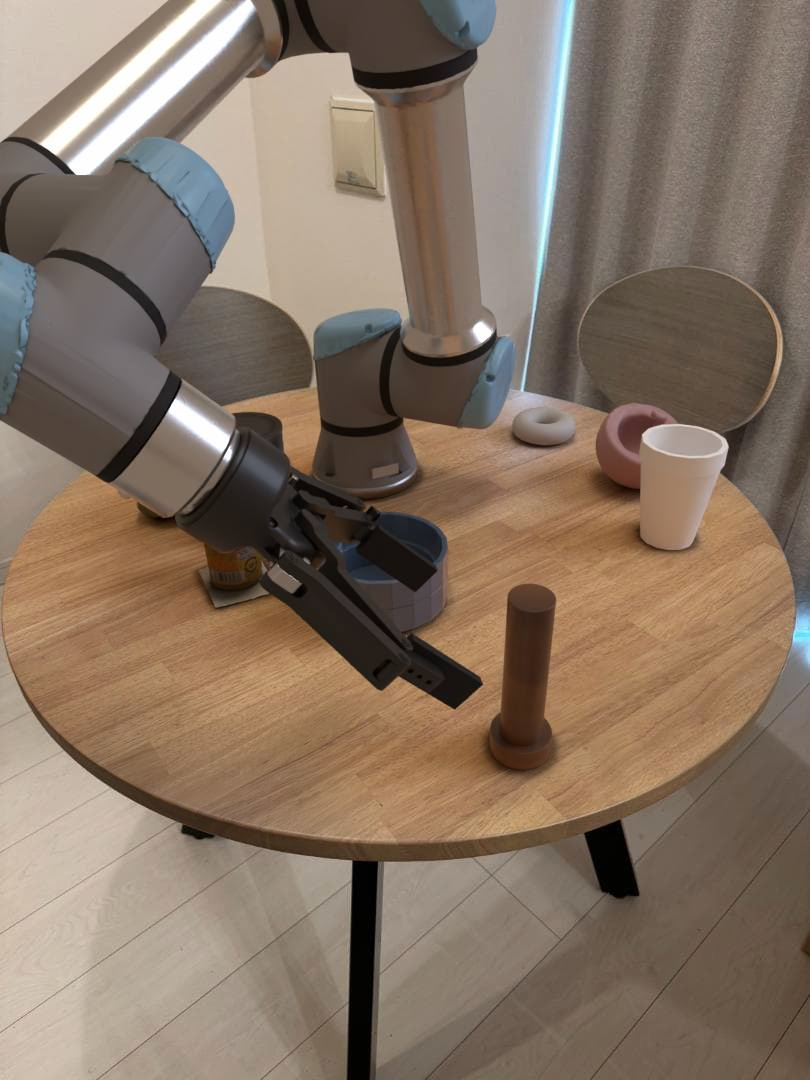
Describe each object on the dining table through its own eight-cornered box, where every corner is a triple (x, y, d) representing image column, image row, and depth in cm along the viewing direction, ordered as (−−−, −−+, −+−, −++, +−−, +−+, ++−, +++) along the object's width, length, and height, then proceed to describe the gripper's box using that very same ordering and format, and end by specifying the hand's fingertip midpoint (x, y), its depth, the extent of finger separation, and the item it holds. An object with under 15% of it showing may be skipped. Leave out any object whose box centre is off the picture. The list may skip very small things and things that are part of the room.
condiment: (258, 555, 90) (244, 467, 84) (279, 591, 84) (266, 499, 77) (198, 571, 88) (179, 482, 81) (215, 610, 81) (196, 516, 75)
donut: (515, 450, 114) (580, 448, 113) (516, 430, 112) (582, 427, 112) (508, 424, 122) (569, 422, 122) (509, 405, 120) (570, 402, 120)
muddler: (486, 724, 66) (493, 578, 57) (544, 722, 66) (559, 576, 57) (493, 771, 61) (501, 620, 53) (555, 769, 61) (573, 617, 53)
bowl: (325, 563, 88) (320, 513, 85) (443, 560, 88) (443, 509, 85) (314, 640, 76) (308, 585, 73) (451, 636, 76) (452, 581, 73)
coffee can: (287, 503, 101) (275, 406, 94) (300, 541, 93) (288, 438, 85) (211, 515, 99) (192, 417, 91) (217, 555, 91) (197, 451, 83)
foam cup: (710, 560, 87) (734, 461, 80) (629, 553, 88) (645, 455, 82) (700, 520, 95) (720, 426, 88) (625, 514, 96) (640, 421, 89)
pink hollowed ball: (627, 512, 97) (639, 431, 91) (574, 474, 106) (582, 399, 100) (698, 492, 101) (715, 414, 95) (641, 458, 110) (653, 385, 104)
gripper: (182, 434, 56) (384, 571, 67) (147, 640, 36) (448, 794, 46) (243, 361, 54) (441, 514, 64) (243, 534, 34) (536, 720, 44)
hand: (444, 630), depth 55 cm, fingers open, 13 cm apart
